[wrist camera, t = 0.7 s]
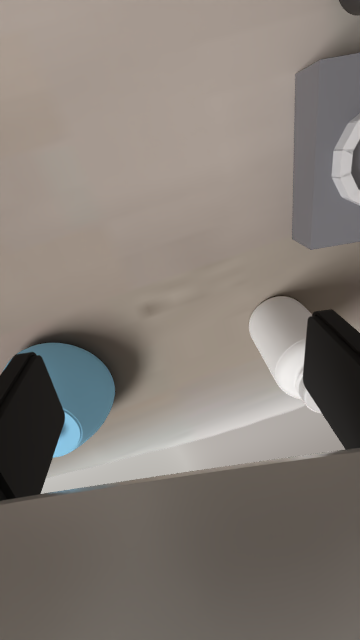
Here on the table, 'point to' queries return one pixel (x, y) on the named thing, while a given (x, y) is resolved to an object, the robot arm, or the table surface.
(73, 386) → the sugar bowl
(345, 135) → the camera body
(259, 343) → the pill bottle
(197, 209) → the table surface
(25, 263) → the table surface
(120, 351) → the table surface
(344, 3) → the lens
